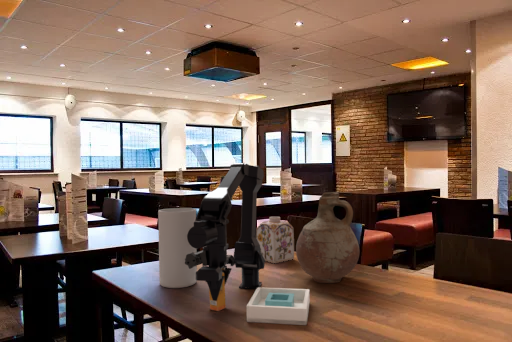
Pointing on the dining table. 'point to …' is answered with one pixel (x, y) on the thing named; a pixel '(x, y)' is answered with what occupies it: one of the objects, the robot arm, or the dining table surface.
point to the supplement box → (220, 301)
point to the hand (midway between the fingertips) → (217, 297)
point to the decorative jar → (276, 240)
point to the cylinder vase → (175, 247)
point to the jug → (328, 242)
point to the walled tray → (279, 306)
